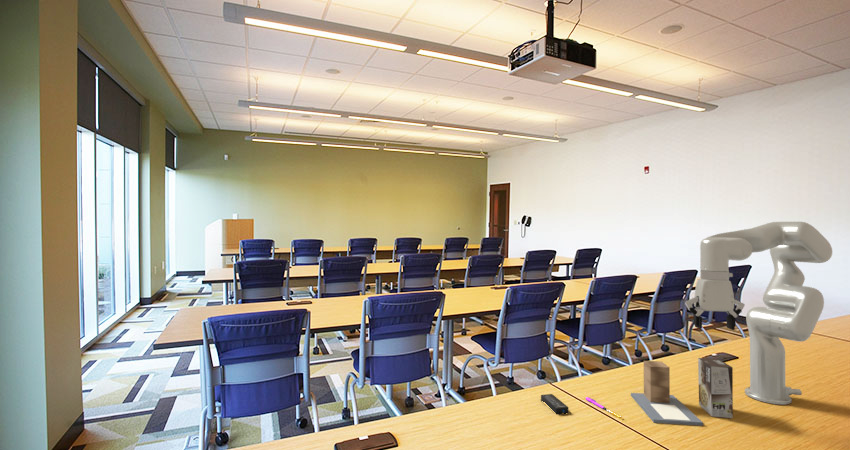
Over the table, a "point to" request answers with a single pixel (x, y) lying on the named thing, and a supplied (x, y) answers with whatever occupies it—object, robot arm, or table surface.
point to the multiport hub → (554, 403)
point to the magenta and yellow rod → (603, 407)
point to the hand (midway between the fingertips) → (714, 328)
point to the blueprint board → (658, 418)
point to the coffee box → (715, 387)
